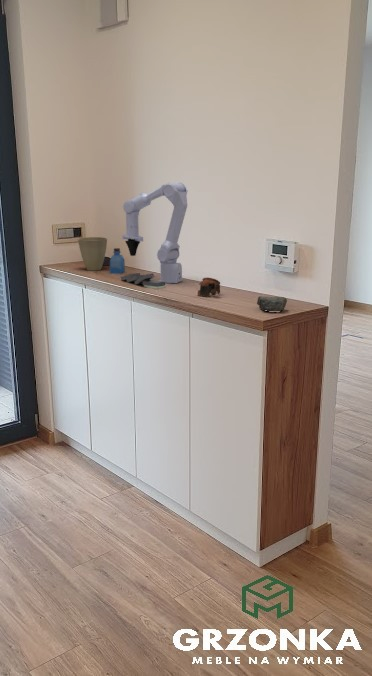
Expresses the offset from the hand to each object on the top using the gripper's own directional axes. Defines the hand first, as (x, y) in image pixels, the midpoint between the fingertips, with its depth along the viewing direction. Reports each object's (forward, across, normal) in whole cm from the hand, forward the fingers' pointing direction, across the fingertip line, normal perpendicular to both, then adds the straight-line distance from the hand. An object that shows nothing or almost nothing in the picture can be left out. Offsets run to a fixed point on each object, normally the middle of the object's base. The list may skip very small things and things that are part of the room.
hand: (133, 255), depth 279 cm
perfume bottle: (+11, -17, +2) cm, 20 cm away
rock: (+11, +89, -1) cm, 90 cm away
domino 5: (+10, +23, -8) cm, 26 cm away
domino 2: (+10, +9, -8) cm, 15 cm away
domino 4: (+9, +22, -8) cm, 25 cm away
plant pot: (+11, -33, -2) cm, 35 cm away
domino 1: (+10, +4, -7) cm, 13 cm away
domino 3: (+10, +17, -8) cm, 21 cm away
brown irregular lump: (+11, +56, 0) cm, 57 cm away
